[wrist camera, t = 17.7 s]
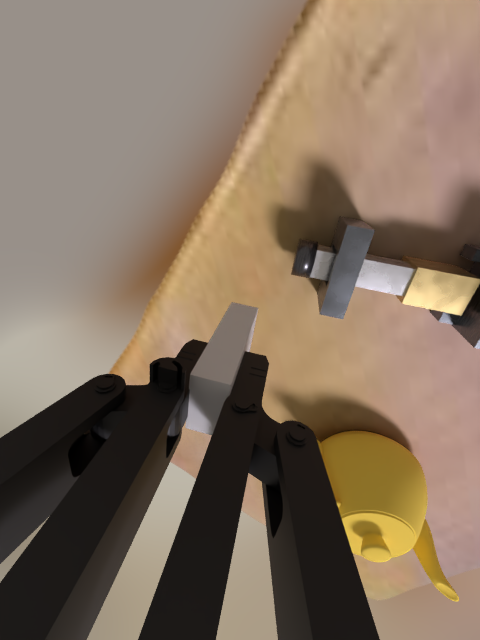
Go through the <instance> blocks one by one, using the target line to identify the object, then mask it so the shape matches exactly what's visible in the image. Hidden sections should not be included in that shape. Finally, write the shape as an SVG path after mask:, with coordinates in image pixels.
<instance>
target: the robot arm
mask: <svg viewBox="0 0 480 640" xmlns="http://www.w3.org/2000/svg"><path fill="white" fill-rule="evenodd" d="M257 312H258V308H256V307H251V306H247V305H242V304H238V303H233V302H232V303H231V304H230V306H229V308H228V310H227V311H226V313H225V315H224V316H223V318H222V320H221V322H220V323H219V325H218V327H217V329H216V330H215V332H214V334H213V336H212V337H211V339H210V341H209V342H208V343H206V342H202V341H198V340H194V339H193V340H191V341H189V342H188V343H186V344H185V345H184V346H183V348H182V349H181V350H180V352H179V353H178V355H177V357H175V358H169V357H166V358H160V359H157V360H154V361H153V362H152V363H151V364H150V382H149V384H147V385H126V383H125V381H124V379H123V378H122V377H121V376H118V375H115V374H104V375H99V376H97V377H95V378H93V379H91V380H89V381H88V382H86V383H85V384H83V385H82V386H80V387H78V388H77V389H75V390H74V391H72V392H71V393H69V394H68V395H66V396H64V397H63V398H61V399H60V400H58V401H57V402H55V403H54V404H52V405H51V406H49V407H47V408H46V409H45V410H43V411H41V412H40V413H38V414H37V415H35V416H34V417H32V418H30V419H29V420H27V421H26V422H24V423H23V424H21V425H20V426H18V427H17V428H15V429H13V430H12V431H10V432H9V433H7V434H6V435H4V436H3V437H1V438H0V564H1V562H3V561H4V560H5V559H6V558H7V557H8V556H9V555H10V554H11V553H12V552H13V551H14V550H15V549H16V548H17V547H18V546H19V545H20V544H21V543H22V542H23V541H24V540H25V539H26V538H27V537H28V536H29V535H30V534H31V533H33V532H34V531H35V530H36V529H37V528H38V527H39V526H40V525H41V524H42V523H43V522H44V521H45V520H46V519H47V518H48V517H49V516H50V517H49V518H48V520H47V521H46V522H45V524H44V525H43V526H42V528H41V529H40V530H39V532H38V533H37V534H36V536H35V537H34V538H33V540H32V541H31V542H30V544H29V545H28V547H27V548H26V549H25V550H24V552H23V553H22V554H21V556H20V557H19V558H18V560H17V561H16V562H15V564H14V565H13V566H12V568H11V569H10V571H9V572H8V573H7V574H6V576H5V577H4V579H3V580H2V581H1V583H0V640H86V639H87V637H88V635H89V633H90V631H91V629H92V627H93V624H94V623H95V620H96V618H97V616H98V614H99V612H100V610H101V607H102V606H103V603H104V601H105V599H106V597H107V595H108V593H109V591H110V588H111V586H112V584H113V582H114V580H115V578H116V576H117V573H118V571H119V569H120V567H121V565H122V563H123V561H124V559H125V556H126V554H127V552H128V550H129V548H130V546H131V544H132V542H133V539H134V537H135V535H136V533H137V531H138V528H139V527H140V524H141V522H142V520H143V518H144V516H145V513H146V512H147V509H148V507H149V505H150V503H151V501H152V499H153V497H154V495H155V492H156V490H157V488H158V486H159V484H160V482H161V480H162V477H163V475H164V473H165V471H166V469H167V467H168V465H169V463H170V460H171V458H172V456H173V454H174V452H175V450H176V448H177V446H178V443H179V441H180V439H181V434H182V427H183V425H184V423H185V421H186V428H187V429H191V430H195V431H198V432H202V433H206V434H209V435H212V437H211V440H210V443H209V445H208V448H207V451H206V454H205V456H204V459H203V462H202V465H201V467H200V470H199V473H198V476H197V478H196V481H195V484H194V487H193V490H192V492H191V495H190V498H189V501H188V503H187V506H186V509H185V512H184V514H183V517H182V520H181V523H180V526H179V528H178V531H177V534H176V536H175V539H174V542H173V545H172V548H171V551H170V553H169V556H168V559H167V561H166V564H165V567H164V570H163V573H162V575H161V578H160V581H159V583H158V586H157V589H156V592H155V594H154V597H153V600H152V603H151V606H150V608H149V611H148V614H147V616H146V619H145V622H144V625H143V627H142V630H141V633H140V636H139V639H138V640H216V635H217V630H218V625H219V619H220V615H221V610H222V605H223V600H224V594H225V589H226V584H227V579H228V574H229V569H230V564H231V559H232V553H233V548H234V543H235V538H236V533H237V528H238V522H239V517H240V513H241V508H242V502H243V497H244V492H245V487H246V482H247V477H248V473H250V474H251V475H253V476H254V477H256V478H257V479H259V480H260V481H262V488H263V498H264V508H265V517H266V527H267V537H268V546H269V556H270V566H271V575H272V585H273V594H274V604H275V615H276V624H277V634H278V640H380V639H379V636H378V633H377V630H376V626H375V623H374V620H373V617H372V614H371V610H370V607H369V604H368V601H367V598H366V595H365V591H364V588H363V585H362V582H361V579H360V576H359V572H358V569H357V566H356V563H355V560H354V556H353V553H352V550H351V547H350V544H349V541H348V537H347V534H346V531H345V528H344V525H343V522H342V518H341V515H340V512H339V509H338V506H337V503H336V499H335V496H334V493H333V490H332V487H331V483H330V480H329V477H328V474H327V471H326V468H325V464H324V461H323V458H322V455H321V452H320V449H319V445H318V442H317V439H316V437H315V435H314V433H313V431H312V430H311V429H310V428H309V427H308V426H306V425H304V424H302V423H301V422H297V421H285V422H283V423H281V424H280V423H278V422H276V421H274V420H273V419H271V418H270V417H269V416H268V415H267V414H266V413H265V412H264V410H263V408H262V397H263V392H264V387H265V382H266V376H267V371H268V366H269V363H268V360H267V358H266V356H263V355H259V354H255V353H251V352H249V351H250V347H251V342H252V337H253V332H254V327H255V322H256V317H257Z"/></svg>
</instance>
